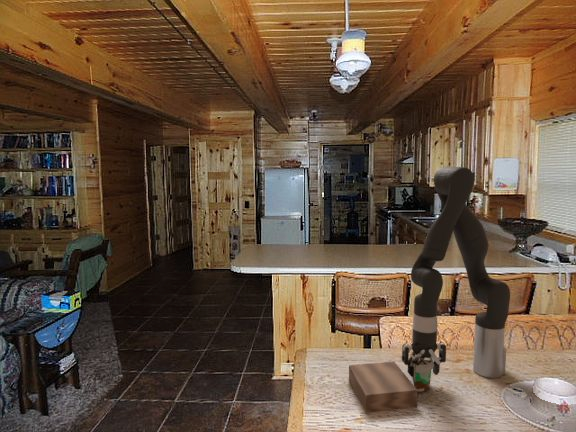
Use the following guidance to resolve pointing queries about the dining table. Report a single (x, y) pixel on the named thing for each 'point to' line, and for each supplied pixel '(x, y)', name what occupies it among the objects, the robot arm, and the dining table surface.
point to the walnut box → (382, 387)
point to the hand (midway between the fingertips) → (423, 374)
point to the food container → (422, 374)
